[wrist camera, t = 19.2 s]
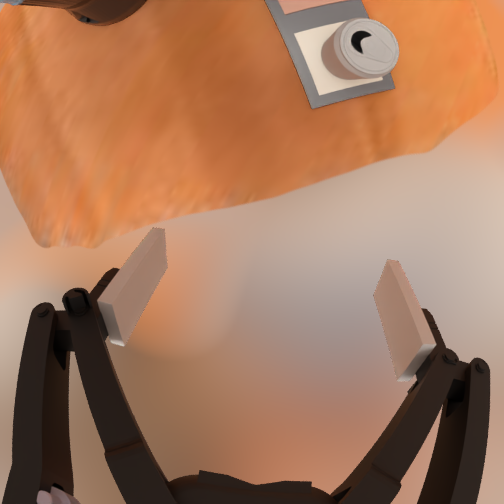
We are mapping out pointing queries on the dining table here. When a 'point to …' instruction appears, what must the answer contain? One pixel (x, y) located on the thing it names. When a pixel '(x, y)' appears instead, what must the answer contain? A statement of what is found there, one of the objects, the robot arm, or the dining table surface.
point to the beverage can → (360, 50)
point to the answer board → (310, 44)
